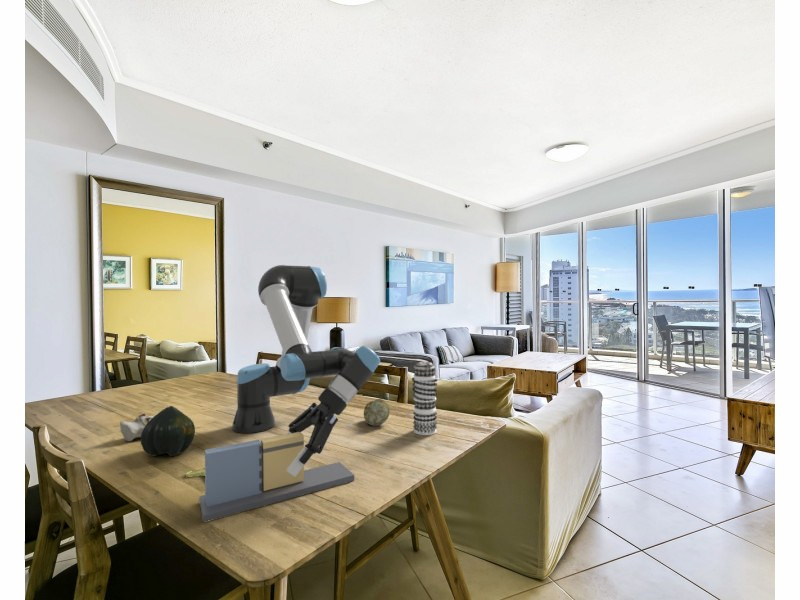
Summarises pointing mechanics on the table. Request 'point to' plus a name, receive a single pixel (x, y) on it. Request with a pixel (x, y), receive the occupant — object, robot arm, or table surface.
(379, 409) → the seashell
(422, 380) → the white patterned cylinder
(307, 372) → the robot arm
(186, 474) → the key
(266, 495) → the base
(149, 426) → the squash
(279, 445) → the tan cardboard parcel
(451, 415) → the table surface
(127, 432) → the ceramic sculpture
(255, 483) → the blue square panel
